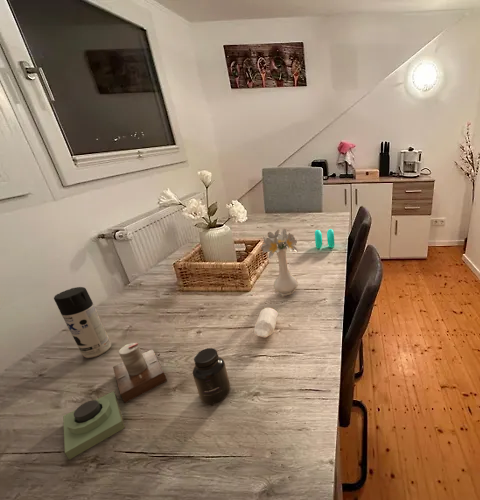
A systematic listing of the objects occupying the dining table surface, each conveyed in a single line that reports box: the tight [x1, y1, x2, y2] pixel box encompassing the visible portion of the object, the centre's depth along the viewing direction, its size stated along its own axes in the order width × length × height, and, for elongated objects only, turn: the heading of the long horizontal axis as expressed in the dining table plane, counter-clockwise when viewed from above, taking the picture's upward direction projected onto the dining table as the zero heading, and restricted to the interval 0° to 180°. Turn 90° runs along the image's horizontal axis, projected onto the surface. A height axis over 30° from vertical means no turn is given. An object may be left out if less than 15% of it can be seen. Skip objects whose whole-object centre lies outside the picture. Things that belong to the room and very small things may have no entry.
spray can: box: [53, 286, 112, 359], centre depth 79 cm, size 7×7×20 cm
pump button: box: [74, 399, 101, 423], centre depth 60 cm, size 4×4×2 cm
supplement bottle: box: [192, 347, 231, 405], centre depth 66 cm, size 7×7×12 cm
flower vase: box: [260, 228, 299, 297], centre depth 106 cm, size 13×18×25 cm
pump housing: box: [62, 390, 126, 460], centre depth 61 cm, size 11×9×4 cm
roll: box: [253, 307, 279, 338], centre depth 87 cm, size 6×12×6 cm, turn 5°
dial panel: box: [112, 348, 168, 404], centre depth 73 cm, size 12×9×3 cm
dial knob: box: [118, 342, 147, 375], centre depth 71 cm, size 4×4×7 cm
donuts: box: [314, 228, 335, 249], centre depth 150 cm, size 10×10×10 cm
